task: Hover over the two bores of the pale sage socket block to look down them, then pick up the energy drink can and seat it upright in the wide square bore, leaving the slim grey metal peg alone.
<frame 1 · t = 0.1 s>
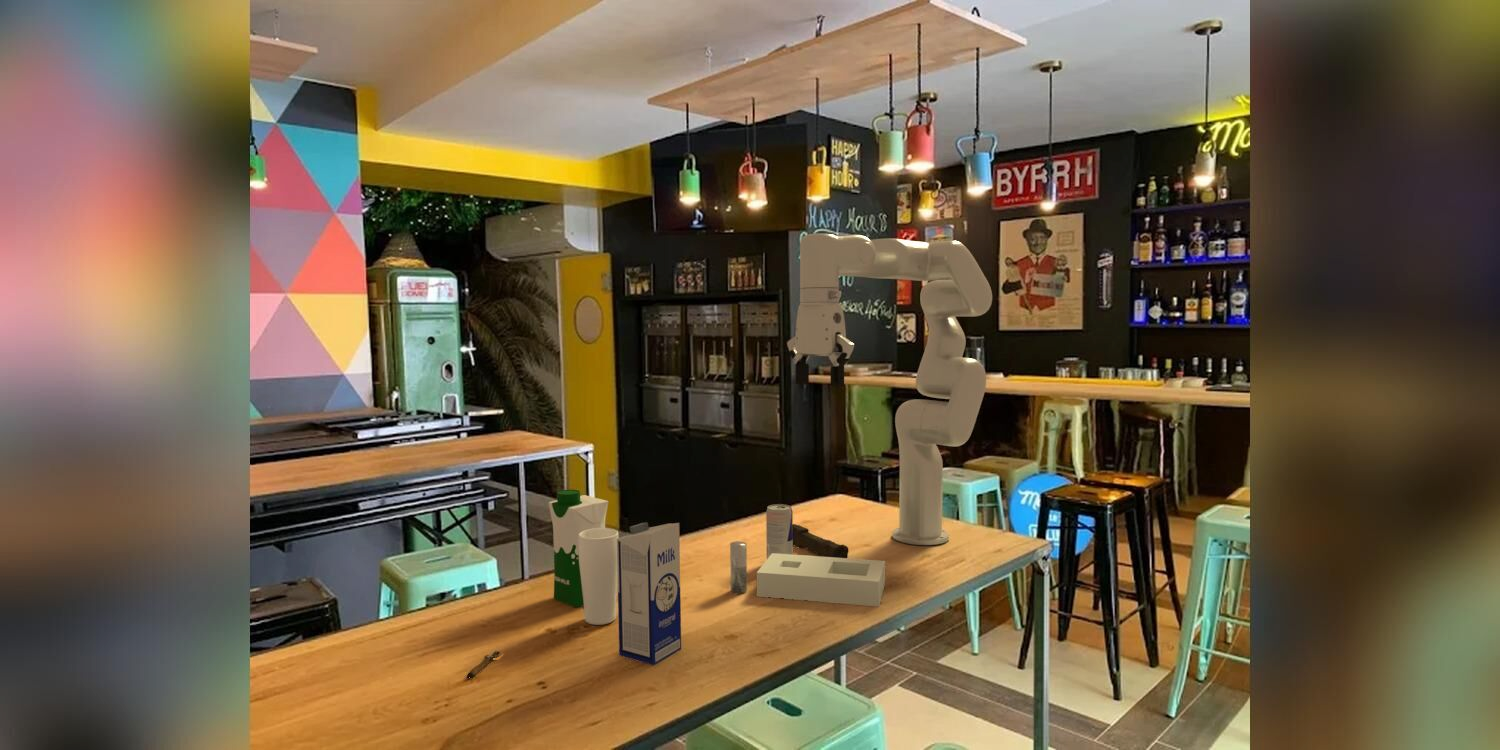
hand: (819, 385, 159), 37 cm above the table, tool pointing down, fingers open, 9 cm apart
socket block: (822, 590, 150), on the table
milk carton: (650, 653, 123), on the table
hand tool: (812, 554, 173), on the table
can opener: (486, 668, 119), on the table
drinking glass: (600, 621, 136), on the table
energy drink: (779, 565, 165), on the table
grey metal peg: (738, 591, 150), on the table
soya milk: (581, 599, 147), on the table
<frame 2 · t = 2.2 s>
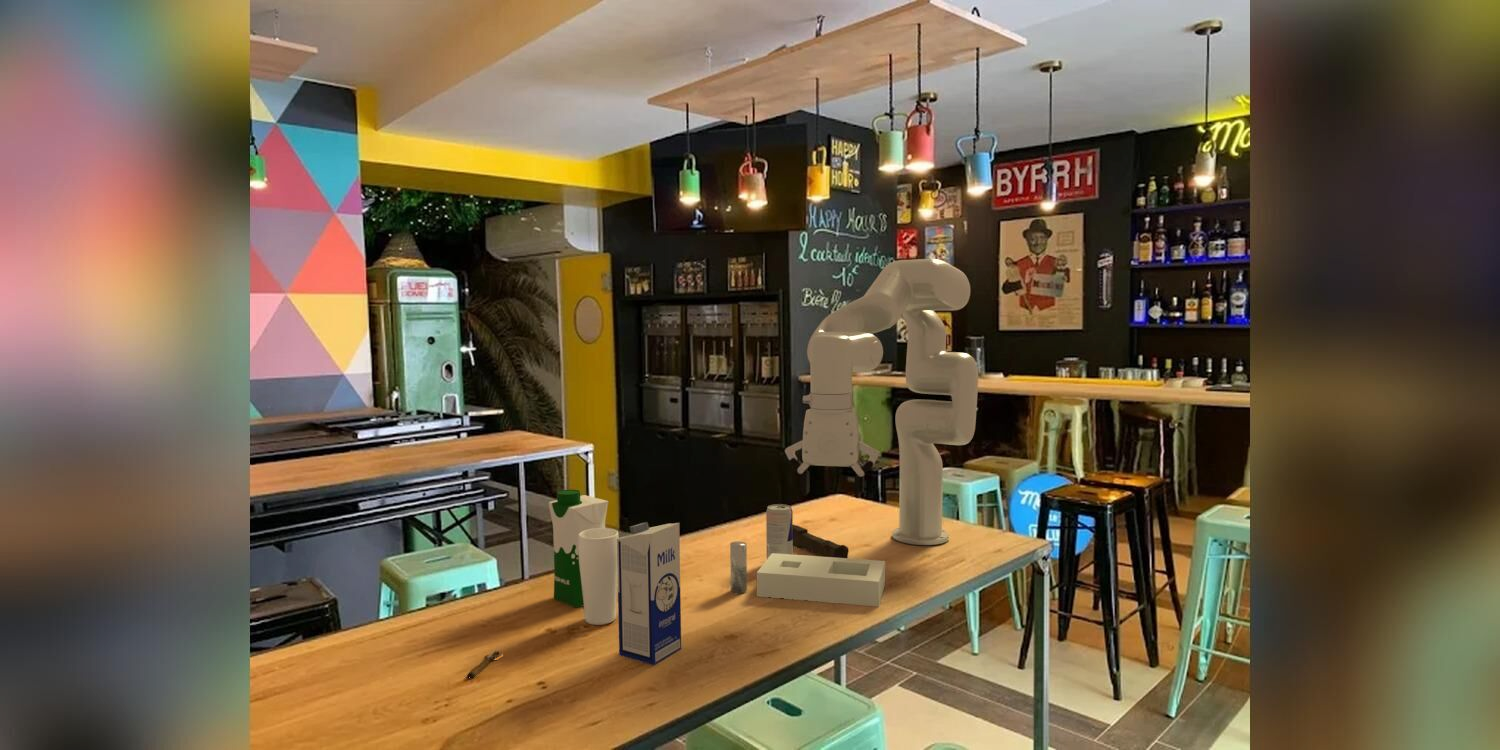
hand: (831, 495, 148), 18 cm above the table, tool pointing down, fingers open, 9 cm apart
nothing on the table moved.
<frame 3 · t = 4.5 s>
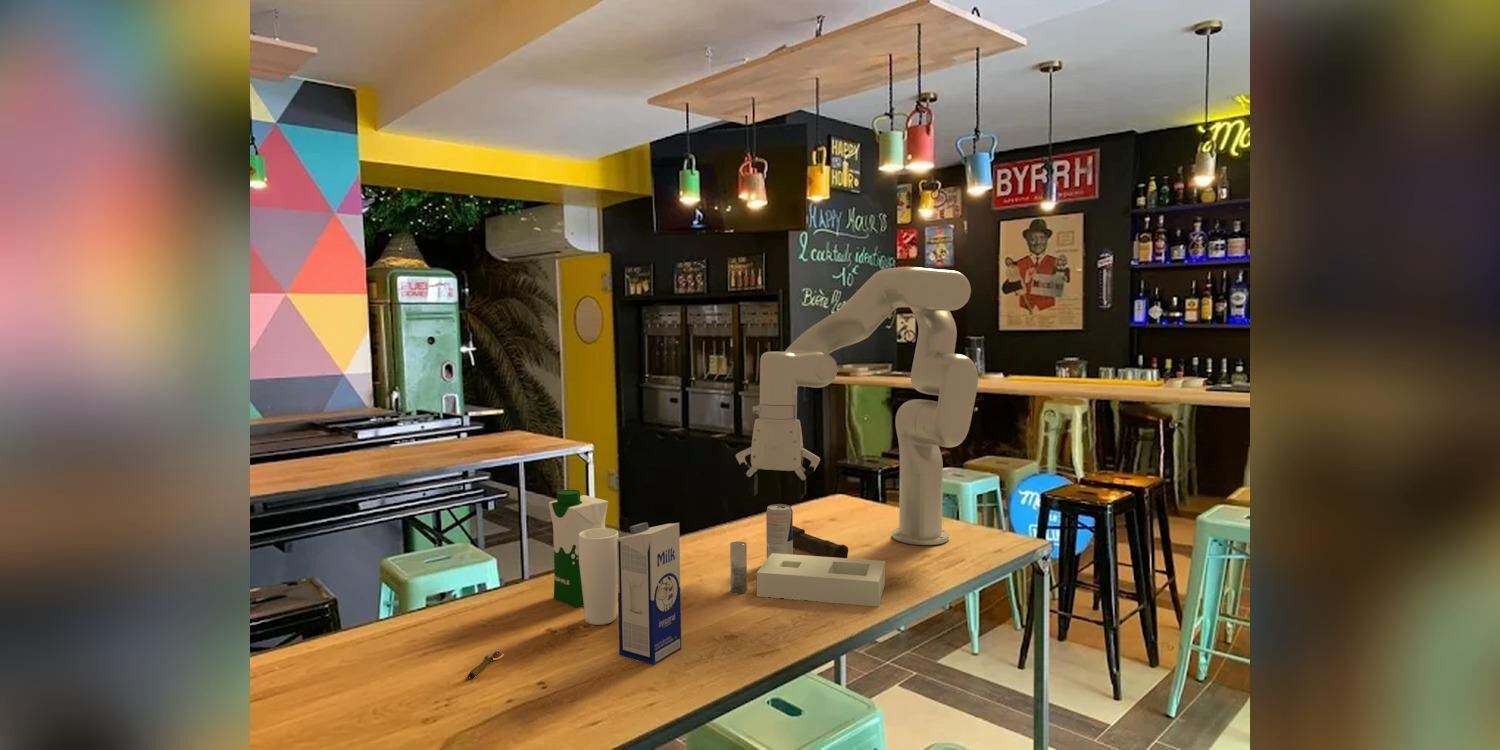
hand: (776, 496, 164), 14 cm above the table, tool pointing down, fingers open, 9 cm apart
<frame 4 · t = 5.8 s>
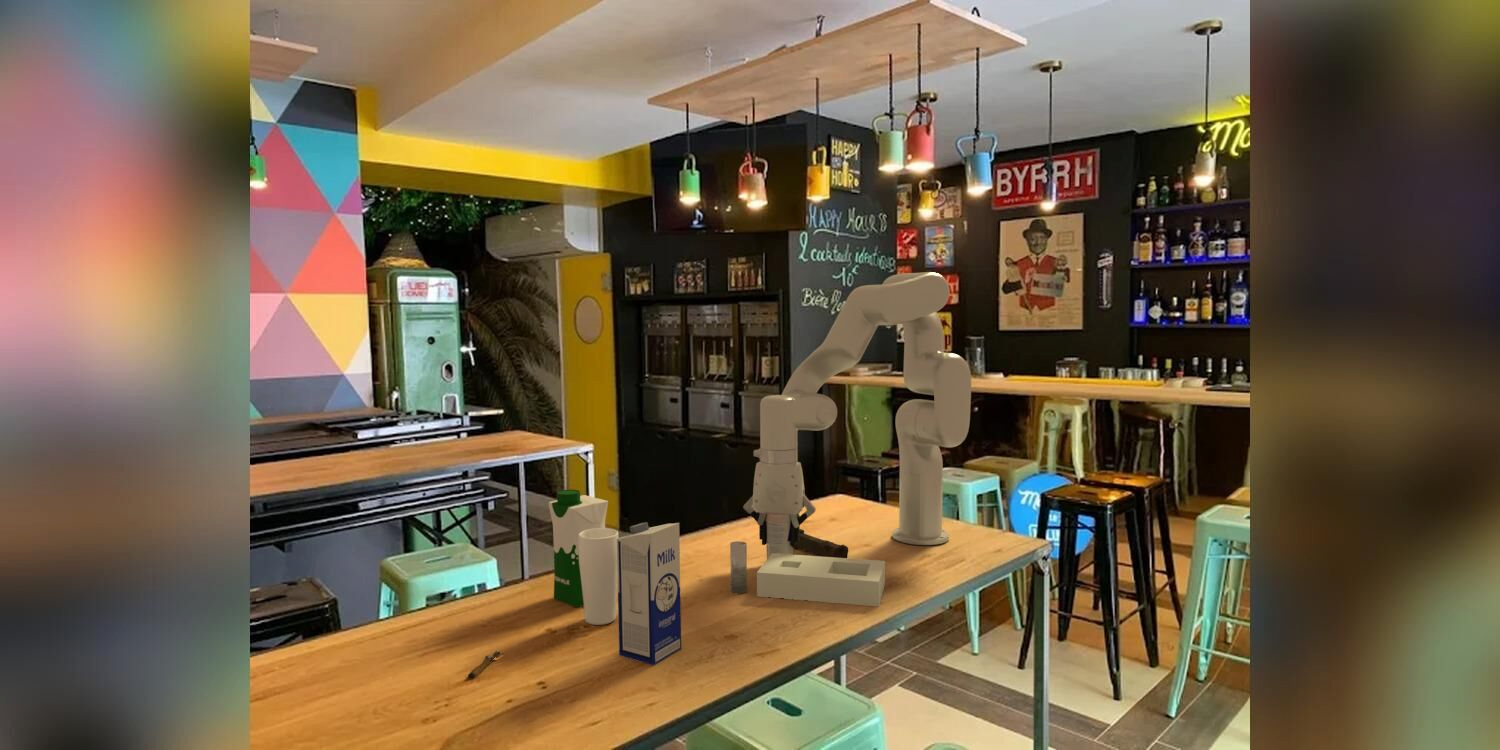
hand: (779, 543, 165), 4 cm above the table, tool pointing down, fingers closed on energy drink, 5 cm apart
energy drink: (779, 565, 165), on the table, touching gripper
everything else where it was.
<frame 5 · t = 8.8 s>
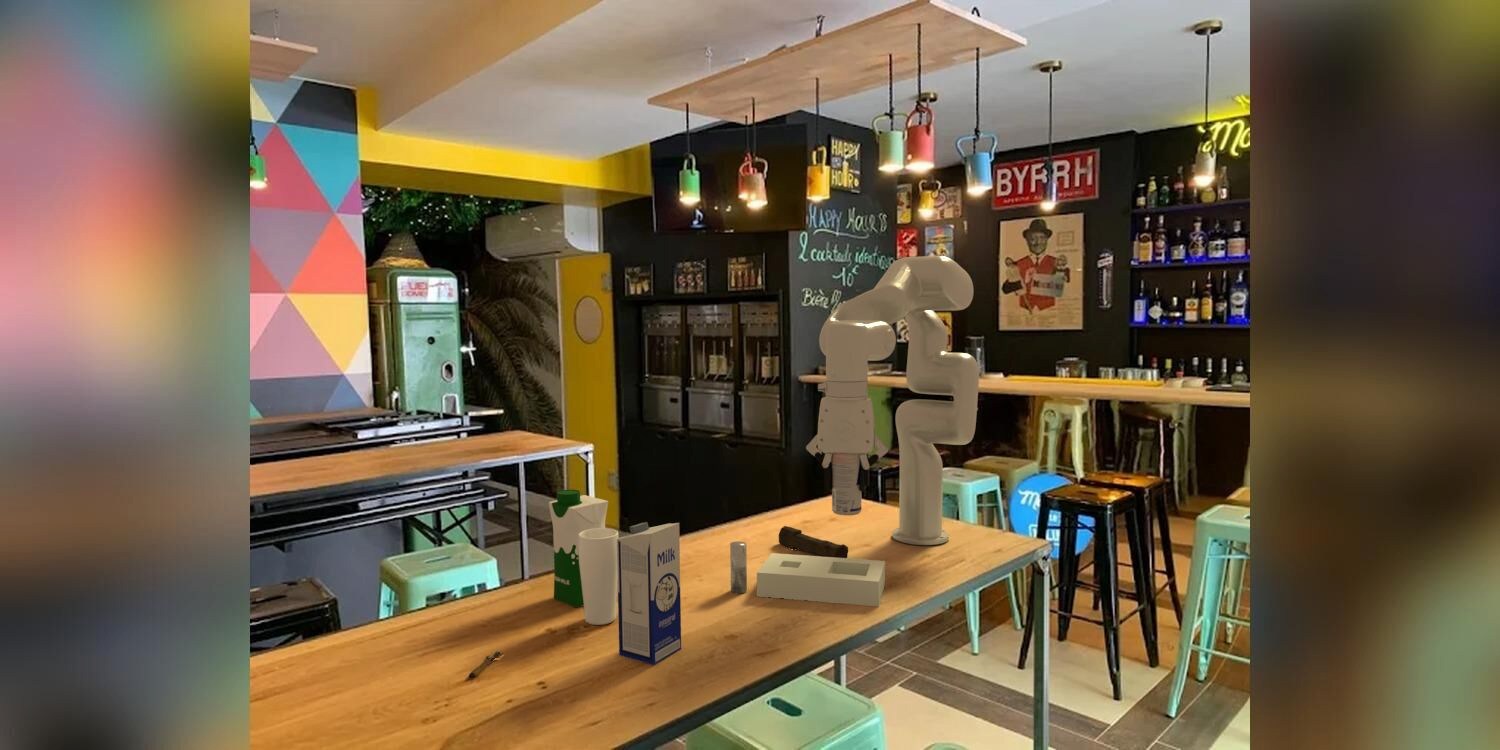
hand: (846, 487, 147), 19 cm above the table, tool pointing down, fingers closed on energy drink, 5 cm apart
energy drink: (846, 513, 148), point 15 cm above the table, touching gripper
when the fingers open (6 cm above the table, at t = 11.8 s): energy drink drops 2 cm, resting in socket block.
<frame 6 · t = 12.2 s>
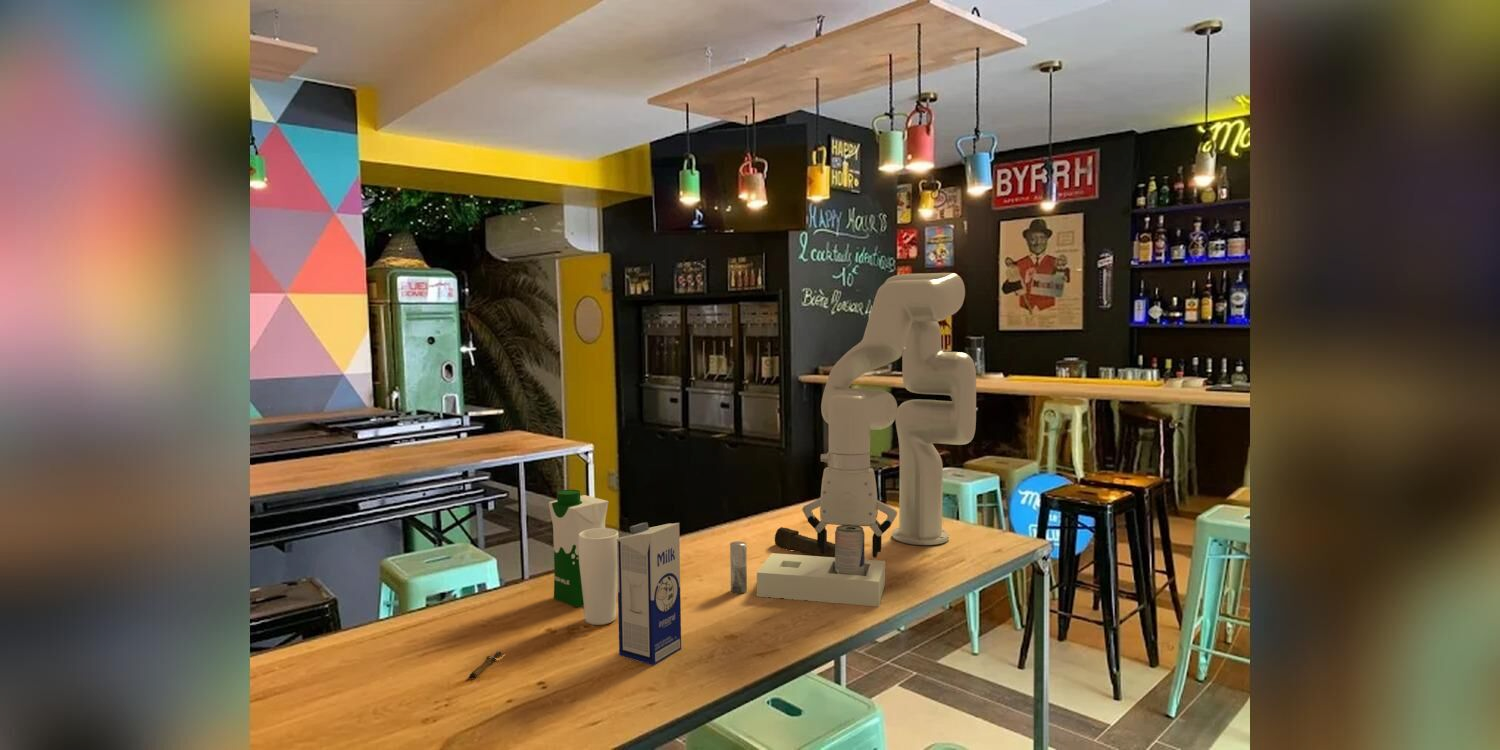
hand: (849, 553, 148), 7 cm above the table, tool pointing down, fingers open, 9 cm apart
energy drink: (849, 593, 149), resting in socket block
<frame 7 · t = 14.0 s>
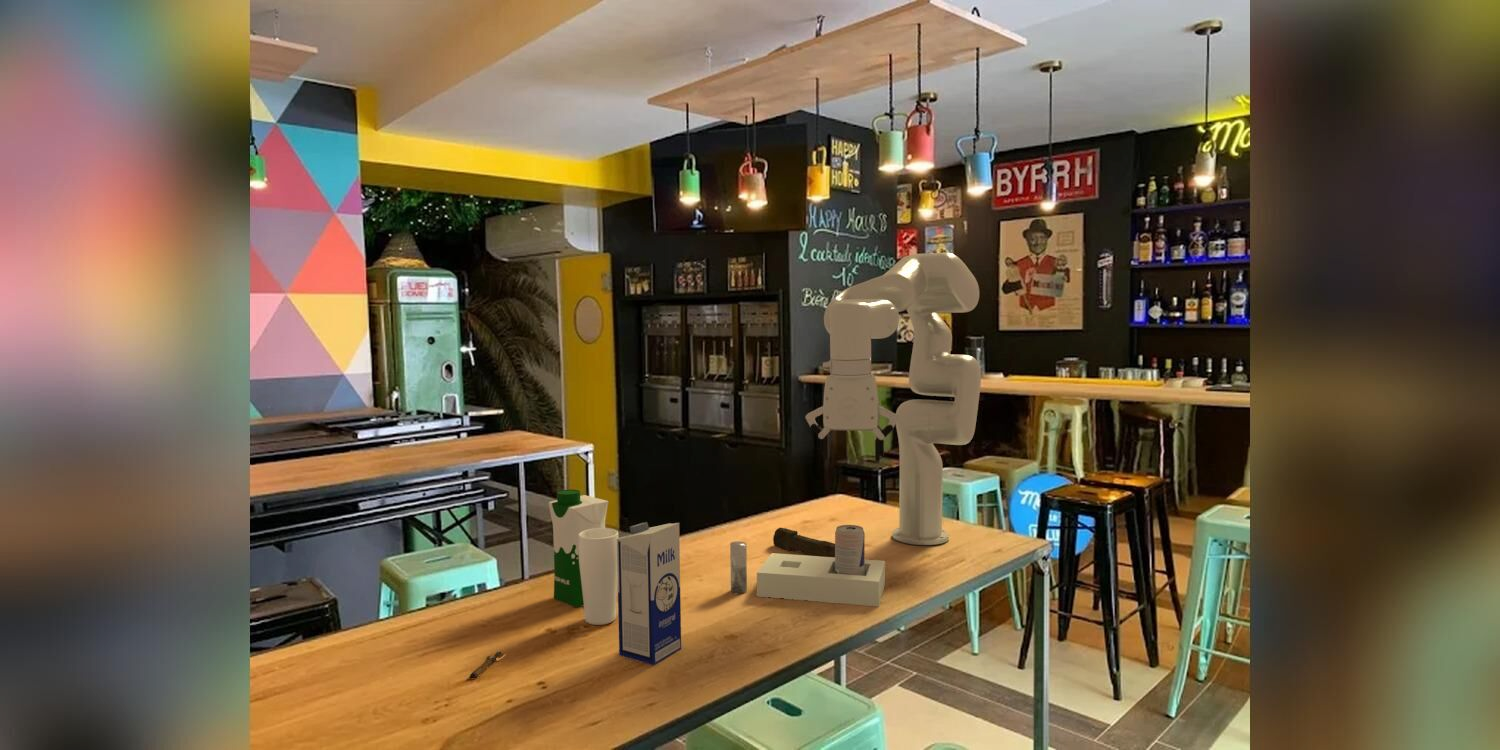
hand: (852, 459, 151), 24 cm above the table, tool pointing down, fingers open, 9 cm apart
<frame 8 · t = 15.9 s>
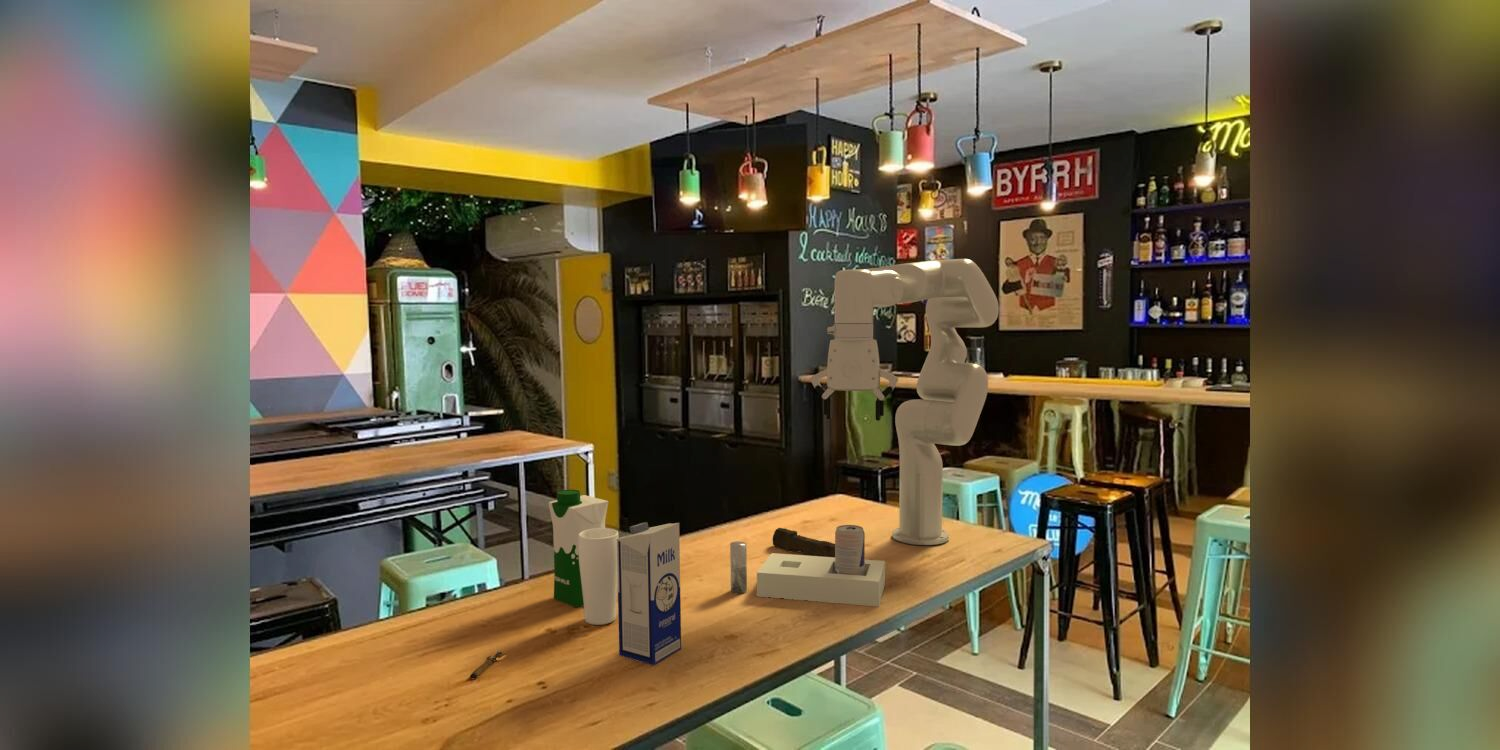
hand: (853, 419, 160), 30 cm above the table, tool pointing down, fingers open, 9 cm apart
at the end: energy drink 0.2 cm from the target spot on the socket block, point 0.0 cm above the socket block's base; energy drink tilted 0°; the gripper is holding nothing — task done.
